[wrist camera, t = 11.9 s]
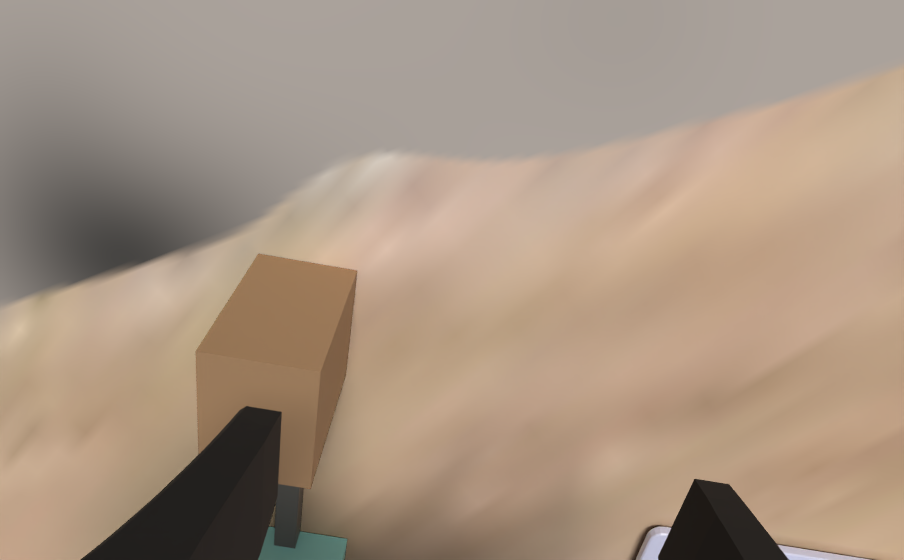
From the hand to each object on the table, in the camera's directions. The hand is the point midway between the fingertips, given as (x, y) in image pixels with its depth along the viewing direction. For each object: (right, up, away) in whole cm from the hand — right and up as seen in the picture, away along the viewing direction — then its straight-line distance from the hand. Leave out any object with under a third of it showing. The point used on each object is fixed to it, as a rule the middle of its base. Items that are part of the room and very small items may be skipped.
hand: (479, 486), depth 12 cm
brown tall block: (-6, -3, +13) cm, 15 cm away
